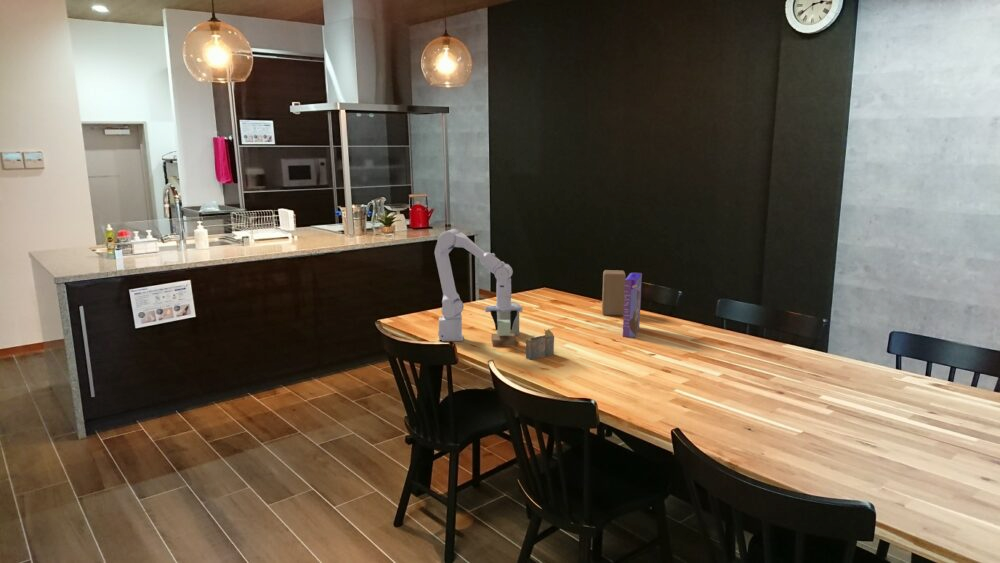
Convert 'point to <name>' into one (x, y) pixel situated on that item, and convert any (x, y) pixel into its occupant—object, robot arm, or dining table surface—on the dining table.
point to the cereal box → (632, 304)
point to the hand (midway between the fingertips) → (503, 329)
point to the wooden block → (613, 292)
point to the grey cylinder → (507, 317)
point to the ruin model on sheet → (540, 346)
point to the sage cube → (503, 327)
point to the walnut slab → (504, 340)
